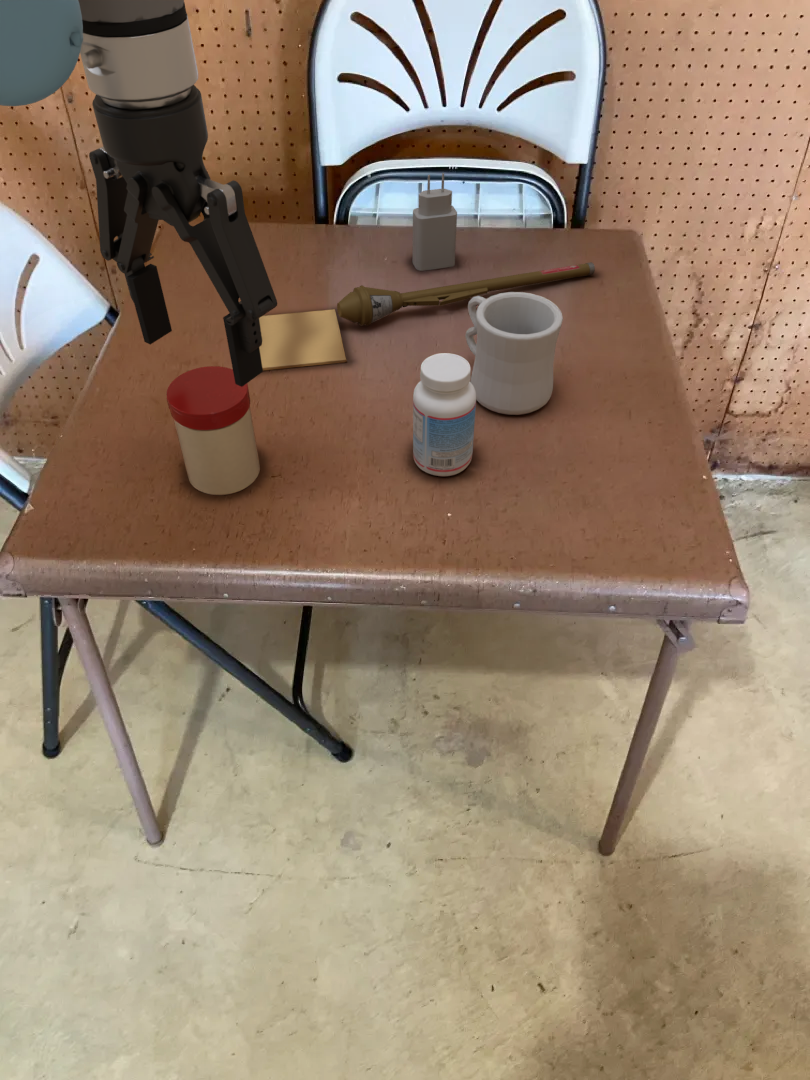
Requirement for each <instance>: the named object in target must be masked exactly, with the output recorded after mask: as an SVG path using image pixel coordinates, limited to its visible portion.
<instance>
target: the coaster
mask: <svg viewBox="0 0 810 1080" xmlns="http://www.w3.org/2000/svg"><path fill="white" fill-rule="evenodd" d="M259 321H260V328H261V336H262V345H261V346H260V347H259V349H260V355H261V361H262V368H263V372H264V371H272V370H274V371H275V370H283V369H292V368H303V367H313V366H321V365H332V364H333V365H334V364H340V363H341V364H342V363H343V364H345V363H347V357H346V352H345V347H344V343H343V338H342V335H341V330H340V325H339V321H338V317H337V311H336V309H335V308H333V309H325V310H312V311H311V310H310V311H302V312H292V313H291V312H289V313H281V314H269V315H268V314H267V315H263V316H262V317H260V318H259Z"/></svg>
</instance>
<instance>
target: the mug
mask: <svg viewBox="0 0 810 1080" xmlns="http://www.w3.org/2000/svg"><path fill="white" fill-rule="evenodd" d="M467 311H468V315H469V318H470V320H471V322H472V325H473V326H470V327H469V328H468V329H466V331H465V336H464V337H465V340H466V344H467V346H468V348H469V350H470V352H471V353H472V354H473V356H474V361H473V367H472V370H471V374H470V376H471V379H470V382H471V384H472V385H473V386H474V388H475V391H476V402H478V404H480V405H481V406H482V407H484V408H486V409H487V410H489V411H492V412H494V413H498V414H501V415H509V416H514V415H515V416H521V415H527V414H530V413H533V412H535V411H537V410H540V409H541V408H542V407H544V406H545V405H546V404H547V403H548V402H549V401H550V399H551V397H552V394H553V390H554V363H555V355H556V347H557V342H558V338H559V335H560V332H561V328H562V324H563V320H564V318H563V313H562V310H561V309H560V308H559V307H558V305H557V304H556V303H555V302H553V301H551V300H550V299H548V298H546V297H544V296H541V295H538V294H534V293H530V292H523V291H508V292H501V293H496V294H494V295H490V296H489V297H487V298H485V297H483V296H482V295H477V296H473V297H471V298H470V300H469V301H468V304H467ZM475 335H476V340H475V338H474V336H475Z"/></svg>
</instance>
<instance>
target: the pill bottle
mask: <svg viewBox="0 0 810 1080" xmlns="http://www.w3.org/2000/svg"><path fill="white" fill-rule="evenodd" d="M471 373H472V370H471V364H470V362H469V361H468V360H467V359H466V358H464V357H463V356H461V355H458V354H455V353H449V352H441V353H435V354H432V355H430V356H428V357H425V359H424V360H423V361H422V362H421V365H420V373H419V379H420V380H419V381H418V382H417V383H416V385H415V387H414V389H413V393H412V395H413V396H412V456H413V460H414V463H415V464H416V466H417V467H418V468H419V469H420V470H421V471H423V472H425V473H426V474H429V475H432V476H436V477H437V476H438V477H450V476H455V475H457V474H460V473H461V472H463V471H464V470H465V469H466V468H468V466H469V465H470V463H471V462H472V459H473V455H474V453H473V452H474V439H475V437H474V436H475V422H476V408H477V407H476V406H477V400H476V391H475V388H474V386H473V385H472V384H471V382H470V381H471Z"/></svg>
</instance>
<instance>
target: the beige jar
mask: <svg viewBox="0 0 810 1080" xmlns="http://www.w3.org/2000/svg"><path fill="white" fill-rule="evenodd" d="M251 409H252V408H251V406H250V407H249V409H248V411H247V413H246V414H245V415H244V416H243V417H242V418H241V419H240V420H238V421H237V422H235V423H233V424H231V425H228V426H226V427H223V428H219V429H213V430H195V429H190V428H187V427H184V426H182V425H180V424H179V423H177V422H176V421H175V420H174V419H173V418H172V419H173V422H174V428H175V431H176V436H177V438H178V443H179V447H180V451H181V455H182V460H183V463H184V467H185V471H186V475H187V478H188V481H189V483H190V484H191V486H192V487H193V488H194V489H196V490H198V491H199V492H201V493H204V494H207V495H214V496H224V495H231V494H235V493H238V492H240V491H242V490H245V489H247V488H248V487H249V486H251V485H252V484H253V483H254V482H255V481H256V480H257V478H258V476H259V474H260V470H261V463H260V457H259V451H258V445H257V440H256V433H255V427H254V422H253V416H252V410H251Z"/></svg>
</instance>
